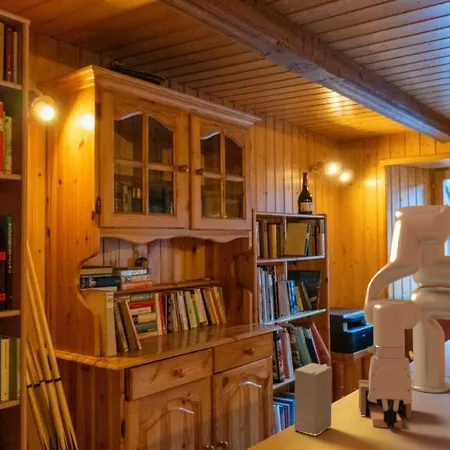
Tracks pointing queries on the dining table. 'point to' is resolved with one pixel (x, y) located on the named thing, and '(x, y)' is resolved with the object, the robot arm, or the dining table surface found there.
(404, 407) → the tan open box
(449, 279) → the robot arm
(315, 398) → the skincare box
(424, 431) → the dining table surface
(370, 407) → the terracotta tile
